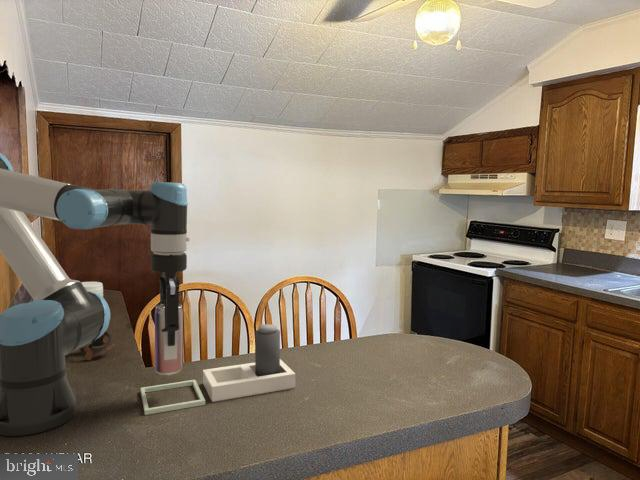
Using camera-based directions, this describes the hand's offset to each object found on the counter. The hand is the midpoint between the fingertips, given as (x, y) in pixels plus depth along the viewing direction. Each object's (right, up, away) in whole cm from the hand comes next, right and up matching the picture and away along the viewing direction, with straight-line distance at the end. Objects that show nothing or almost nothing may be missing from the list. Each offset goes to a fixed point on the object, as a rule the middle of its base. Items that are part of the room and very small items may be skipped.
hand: (168, 353), depth 107 cm
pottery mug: (-31, -8, +29) cm, 43 cm away
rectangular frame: (0, -10, +1) cm, 10 cm away
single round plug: (+21, -10, +10) cm, 25 cm away
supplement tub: (-46, -4, +57) cm, 74 cm away
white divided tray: (+17, -10, +8) cm, 21 cm away
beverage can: (0, -4, 0) cm, 4 cm away
